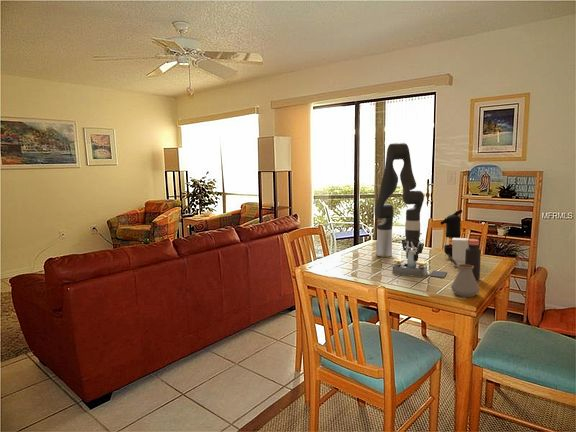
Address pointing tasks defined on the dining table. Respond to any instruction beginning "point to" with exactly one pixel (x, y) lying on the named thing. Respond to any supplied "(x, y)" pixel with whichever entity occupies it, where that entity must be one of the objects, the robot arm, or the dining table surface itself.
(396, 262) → the plunger
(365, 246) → the dining table surface
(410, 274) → the housing
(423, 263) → the plunger
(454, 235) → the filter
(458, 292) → the coffee pot
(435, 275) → the mat
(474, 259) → the bottle
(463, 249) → the skincare box
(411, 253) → the cartridge
